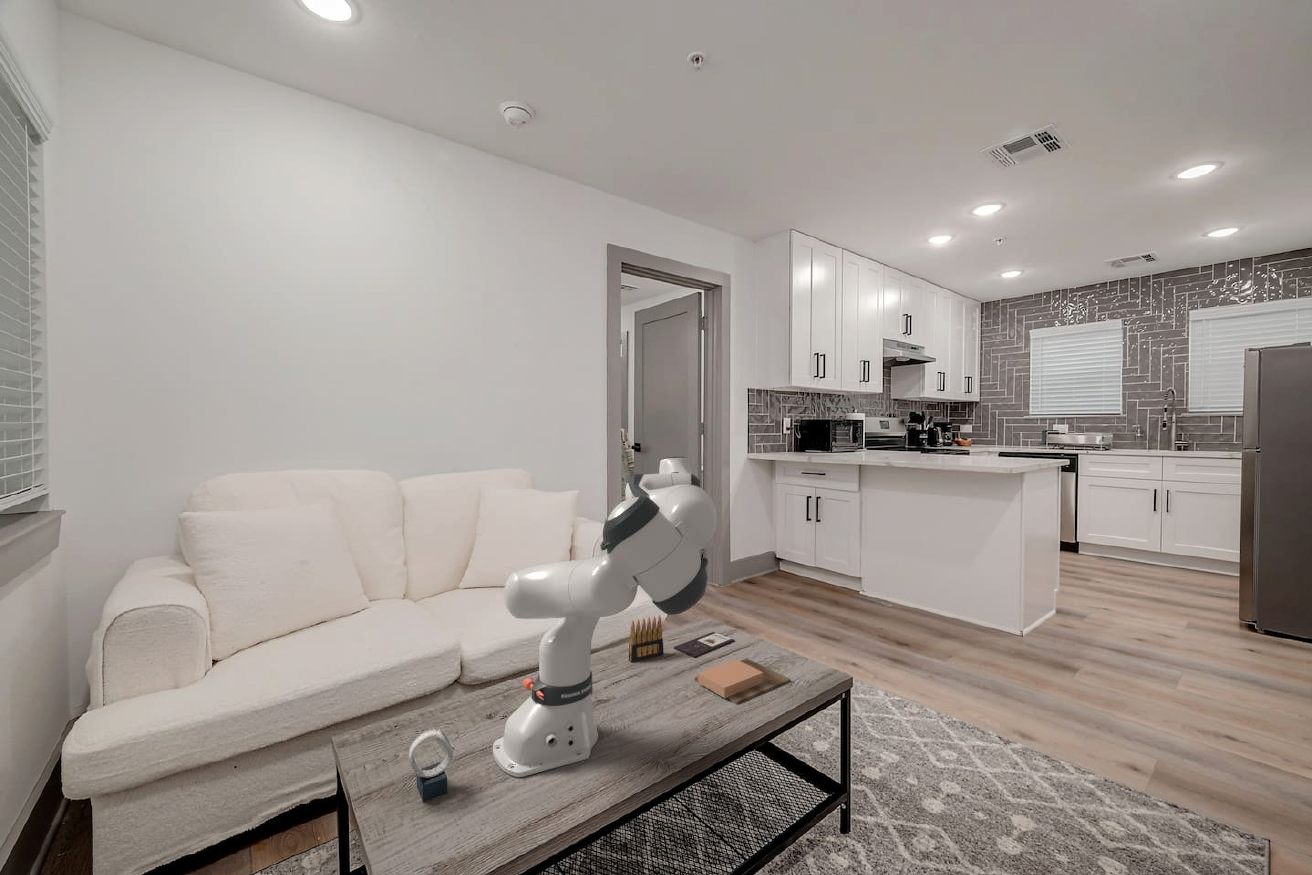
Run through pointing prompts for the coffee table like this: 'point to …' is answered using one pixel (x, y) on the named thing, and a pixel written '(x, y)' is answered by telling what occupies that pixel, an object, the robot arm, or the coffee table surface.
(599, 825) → the coffee table surface
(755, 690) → the walnut board
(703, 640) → the chocolate bar
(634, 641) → the ammunition clip
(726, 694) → the terracotta tile
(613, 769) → the coffee table surface
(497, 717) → the coffee table surface
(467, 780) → the coffee table surface
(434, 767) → the watch
